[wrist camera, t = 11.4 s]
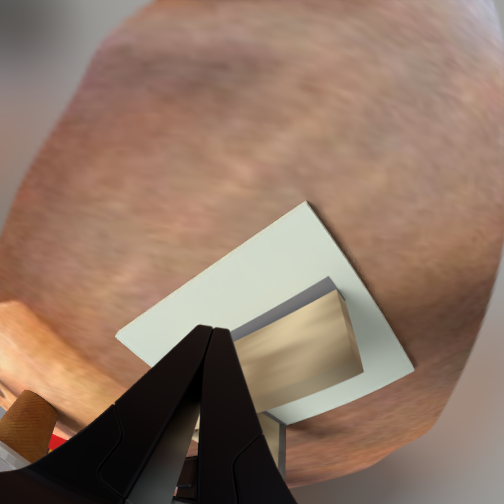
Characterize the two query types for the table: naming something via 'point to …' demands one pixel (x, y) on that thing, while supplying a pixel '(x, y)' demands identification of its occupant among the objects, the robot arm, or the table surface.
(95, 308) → the table surface
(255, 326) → the board
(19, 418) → the disposable coffee cup
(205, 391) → the robot arm
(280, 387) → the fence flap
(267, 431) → the fixed fence panel
